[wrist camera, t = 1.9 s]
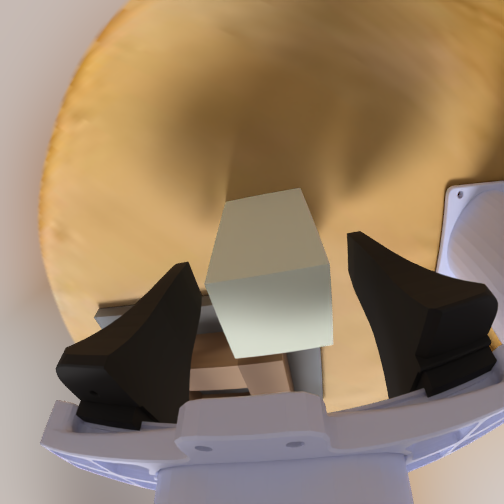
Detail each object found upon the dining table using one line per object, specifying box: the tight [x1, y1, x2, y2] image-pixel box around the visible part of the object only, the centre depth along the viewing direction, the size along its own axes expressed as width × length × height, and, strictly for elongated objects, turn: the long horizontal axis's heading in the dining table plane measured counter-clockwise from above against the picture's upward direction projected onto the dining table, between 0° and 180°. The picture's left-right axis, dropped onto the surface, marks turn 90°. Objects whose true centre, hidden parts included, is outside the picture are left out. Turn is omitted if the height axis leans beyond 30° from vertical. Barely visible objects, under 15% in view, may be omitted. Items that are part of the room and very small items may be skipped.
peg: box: [205, 188, 333, 359], centre depth 13 cm, size 4×4×7 cm
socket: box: [94, 296, 323, 401], centre depth 21 cm, size 16×16×4 cm
